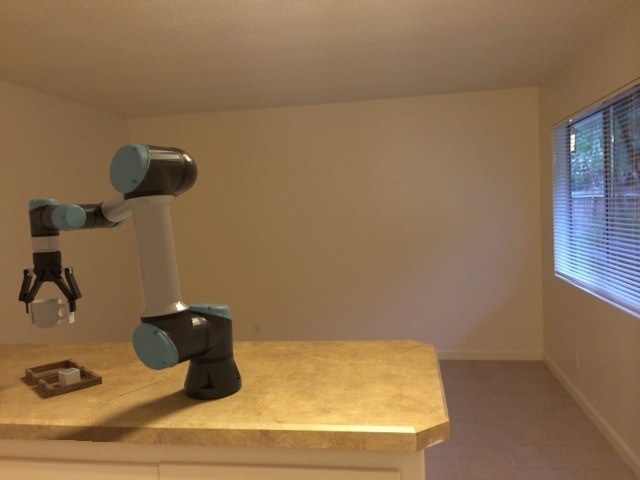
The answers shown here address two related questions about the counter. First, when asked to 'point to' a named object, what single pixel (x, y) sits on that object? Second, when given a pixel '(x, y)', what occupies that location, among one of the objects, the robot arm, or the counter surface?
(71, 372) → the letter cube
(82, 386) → the tray
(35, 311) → the cup
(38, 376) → the tray
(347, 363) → the counter surface
